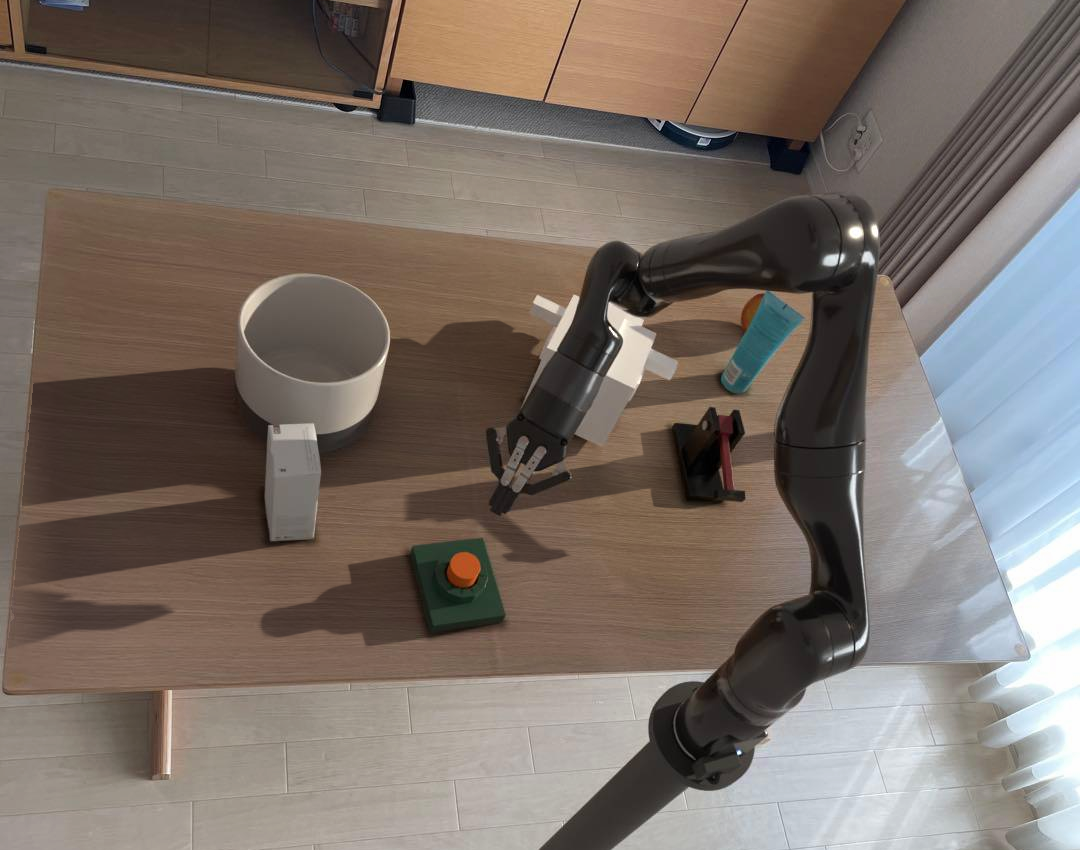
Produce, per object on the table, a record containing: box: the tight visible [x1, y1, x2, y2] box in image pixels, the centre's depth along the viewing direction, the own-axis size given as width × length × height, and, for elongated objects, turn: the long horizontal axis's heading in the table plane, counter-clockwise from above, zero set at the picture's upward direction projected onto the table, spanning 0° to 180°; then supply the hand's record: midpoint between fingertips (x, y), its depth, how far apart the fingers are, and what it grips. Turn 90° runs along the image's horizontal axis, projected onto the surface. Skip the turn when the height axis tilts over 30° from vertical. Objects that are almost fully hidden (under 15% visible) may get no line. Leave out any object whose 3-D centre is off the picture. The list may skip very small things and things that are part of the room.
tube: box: [720, 290, 806, 394], centre depth 164 cm, size 7×5×19 cm, turn 57°
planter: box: [233, 273, 391, 454], centre depth 136 cm, size 19×19×18 cm
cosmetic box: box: [264, 423, 322, 542], centre depth 128 cm, size 8×6×15 cm
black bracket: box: [670, 406, 746, 504], centre depth 154 cm, size 14×6×12 cm, turn 5°
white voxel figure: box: [520, 294, 680, 448], centre depth 158 cm, size 15×25×28 cm
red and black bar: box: [714, 414, 747, 503], centre depth 149 cm, size 13×4×2 cm, turn 6°
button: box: [446, 552, 480, 588], centre depth 131 cm, size 4×4×3 cm
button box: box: [409, 537, 507, 634], centre depth 133 cm, size 12×10×4 cm
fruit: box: [740, 292, 765, 334], centre depth 177 cm, size 8×8×8 cm
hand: (495, 512), depth 129 cm, fingers closed
